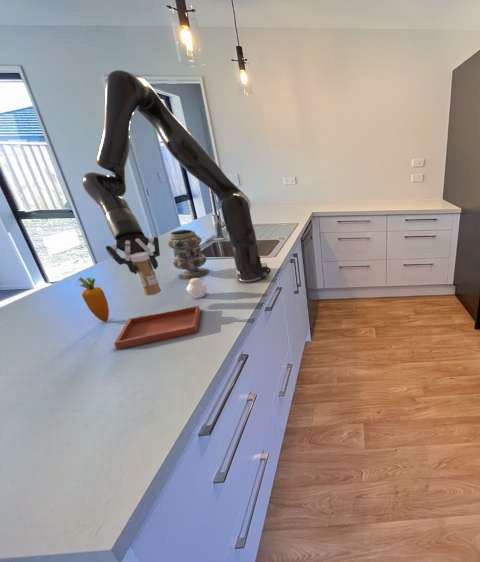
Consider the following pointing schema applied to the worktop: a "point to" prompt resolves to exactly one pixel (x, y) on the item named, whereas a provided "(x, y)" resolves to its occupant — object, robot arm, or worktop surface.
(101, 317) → the carrot
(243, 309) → the worktop surface
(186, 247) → the ornate carved vase
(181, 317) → the tray
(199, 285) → the white rounded lump
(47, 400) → the worktop surface
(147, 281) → the sprinkles bottle
